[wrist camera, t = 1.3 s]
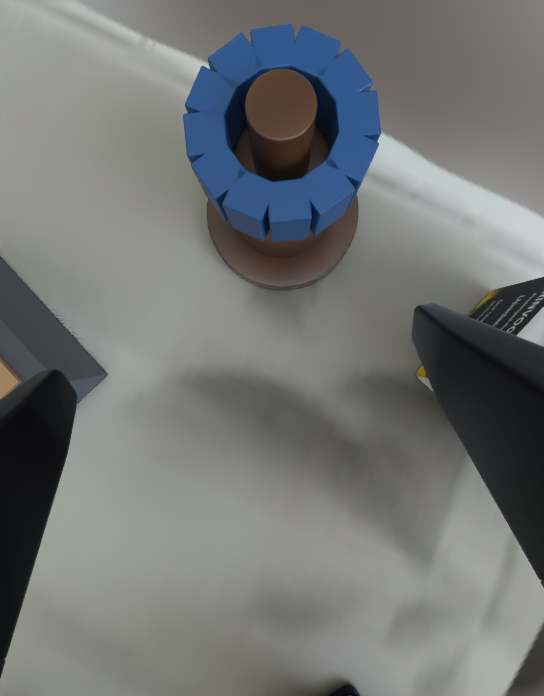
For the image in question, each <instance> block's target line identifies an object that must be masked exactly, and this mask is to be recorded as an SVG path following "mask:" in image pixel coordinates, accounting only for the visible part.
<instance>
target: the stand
mask: <svg viewBox="0 0 544 696" xmlns="http://www.w3.org/2000/svg"><path fill="white" fill-rule="evenodd" d="M245 113H246V119H247V125H248V127H246V128H245V129H244V130H243V132H242V135H241V137H240V139H239V141H238V144H237V146H236V148H235V150H234V155H235V157H236V158H237V159H238V161H239V162H240V164H241V165H242V166H243V168H244V169H245V170H247V171H249V172H251V173H253V174H256V175H258V176H260V177H262V178H265V179H267V180H269V181H272V182H275V181H284V180H293V179H301V178H302V177H304V176H305V175H306V174H308V173H309V172H310V171H312V170H313V169H314V168H316V167H317V166H319V165H320V164H321V163H323V162H324V161H325V160H326V159H327V157H328V155H329V154H328V143H327V139H326V138H325V137H324V135H323V134H322V132H321V131H320V130H319V128H318V127H317V126H316V124H315V120H316V113H317V98H316V94H315V91H314V89H313V87H312V85H311V84H310V82H309V81H308V80H307V79H306V78H305V77H304V76H302V75H301V74H299V73H298V72H295V71H293V70H289V69H275V70H271V71H268V72H266V73H264V74H263V75H261V76H260V77H258V78H257V79H256V80H255V81H254V83H253V84H252V85H251V87H250V89H249V91H248V93H247V96H246V100H245ZM207 221H208V228H209V232H210V235H211V238H212V241H213V243H214V245H215V247H216V249H217V251H218V253H219V254H220V255H221V257H222V258H223V260H224V261H225V262H226V264H227V265H228V266H229V267H230V268H231V269H232V270H233V271H234V272H235V273H236V274H237V275H239V276H240V277H241V278H243V279H245V280H246V281H248V282H250V283H252V284H254V285H257V286H260V287H263V288H267V289H274V290H289V289H296V288H300V287H304V286H307V285H309V284H312V283H314V282H316V281H317V280H319V279H321V278H322V277H324V276H325V275H327V274H328V273H329V272H330V271H331V270H332V269H333V268H334V267H335V266H336V265H337V264H338V263H339V261H340V260H341V259H342V257H343V256H344V254H345V253H346V251H347V250H348V248H349V246H350V244H351V242H352V240H353V237H354V234H355V231H356V228H357V222H358V198H357V194H356V196H355V198H354V200H353V202H352V204H351V206H350V207H349V208H347V209H346V211H345V213H344V215H343V216H342V217H340V218H339V219H338V220H336V221H335V222H334V223H332V224H331V225H329V226H328V227H327V228H325V229H324V230H322V231H321V232H320V233H318V234H317V235H316V236H314V235H313V233H312V232H311V231H310V229H309V232H308V237H307V238H306V239H299V240H290V241H280V242H272V241H271V235H270V230H269V232H268V235H267V237H266V239H265V241H262V240H260V239H257V238H255V237H253V236H251V235H248V234H246V233H244V232H242V231H239V230H237V229H235V228H233V227H232V226H231V223H230V221H227V222H225V221H224V219H223V218H222V216H221V215H220V214H219V212H218V211H217V210H216V208H215V207H214V205H213V204H212V203H211V201H210V200H209V198H208V203H207Z"/></svg>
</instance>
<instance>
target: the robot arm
mask: <svg viewBox="0 0 544 696" xmlns="http://www.w3.org/2000/svg"><path fill="white" fill-rule="evenodd" d="M412 340H413V343H414V346H415V348H416V351H417V353H418V355H419V358H420V360H421V363H422V365H423V368H424V370H425V373H426V375H427V377H428V380H429V382H430V385H431V387H432V389H433V391H434V393H435V395H436V397H437V399H438V401H439V403H440V404H441V406H442V408H443V410H444V412H445V413H446V415H447V417H448V419H449V420H450V422H451V424H452V426H453V427H454V429H455V431H456V433H457V435H458V436H459V438H460V440H461V442H462V443H463V445H464V447H465V449H466V450H467V452H468V454H469V456H470V458H471V459H472V461H473V463H474V465H475V466H476V468H477V470H478V472H479V473H480V475H481V477H482V479H483V481H484V482H485V484H486V486H487V488H488V489H489V491H490V493H491V495H492V496H493V498H494V500H495V502H496V504H497V505H498V507H499V509H500V511H501V512H502V514H503V516H504V518H505V520H506V521H507V523H508V525H509V527H510V528H511V530H512V532H513V534H514V535H515V537H516V539H517V541H518V543H519V544H520V546H521V548H522V550H523V551H524V553H525V555H526V557H527V558H528V560H529V562H530V564H531V566H532V567H533V569H534V571H535V573H536V574H537V576H538V578H539V579H540V580H542V581H541V584H542V586H543V587H544V346H541V345H538V344H536V343H533V342H531V341H528V340H526V339H523V338H521V337H518V336H516V335H513V334H511V333H508V332H505V331H503V330H500V329H498V328H495V327H493V326H490V325H488V324H485V323H483V322H480V321H478V320H475V319H472V318H470V317H467V316H465V315H462V314H460V313H457V312H455V311H452V310H450V309H447V308H444V307H442V306H439V305H437V304H434V303H430V304H425V305H419V306H417V307H416V308H415V310H414V317H413V327H412ZM77 399H78V398H77V393H76V391H75V389H74V388H73V386H72V385H71V383H70V382H69V380H68V379H67V378H66V376H65V375H64V373H63V372H62V371H61V370H59V369H51V370H46V371H41V372H39V373H38V374H36V375H35V376H33V377H32V378H31V379H29V380H28V381H26V382H25V383H23V384H22V385H20V386H19V387H18V388H16V389H15V390H13V391H12V392H10V393H9V394H8V395H6V396H5V397H3V398H2V399H0V677H1V674H2V671H3V667H4V664H5V658H6V656H7V653H8V650H9V647H10V643H11V640H12V637H13V633H14V630H15V627H16V623H17V620H18V617H19V613H20V610H21V607H22V604H23V600H24V597H25V594H26V590H27V587H28V584H29V580H30V577H31V574H32V570H33V567H34V564H35V560H36V557H37V554H38V550H39V547H40V544H41V540H42V537H43V534H44V530H45V527H46V524H47V521H48V517H49V514H50V511H51V507H52V504H53V501H54V497H55V494H56V491H57V487H58V484H59V481H60V477H61V474H62V471H63V467H64V464H65V461H66V457H67V453H68V449H69V444H70V439H71V433H72V428H73V422H74V417H75V411H76V406H77ZM349 695H352V696H360V695H359V693H358V691H357V690H356V688H355V687H354V686H351V685H346V686H344V687H342V688H341V689H339V690H337V691H336V692H334V693H332V694H330V695H329V696H349Z"/></svg>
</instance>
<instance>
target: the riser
mask: <svg viewBox="0 0 544 696" xmlns="http://www.w3.org/2000/svg"><path fill="white" fill-rule="evenodd" d="M51 369H59V370H61V371H62V372H63V373H64V375H65V376H66V378H67V379H68V380H69V382H70V383H71V385H72V386H73V388H74V389H75V391H76V393H77V398H78V399H77V403H78V402H79V401H80V400H81V399H82V398H83V397H85V396H86V395H87V394H88V393H89V392H90V391H91V390H92V389H93V388H94V387H95V386H96V385H97V384H98V383H99V382H100V381H102V380H103V379H104V378H105V377H106V376H107V373H106V372H105V371H104V370H103V369H102V368H101V366H100V365H99V364H98V363H97V362H96V361H95V360H94V359H93V358H92V357H91V356H90V354H89V353H88V352H87V351H86V350H85V349H84V348H83V347H82V346H81V345H80V343H79V342H78V341H77V340H76V339H75V338H74V337H73V336H72V335H71V334H70V333H69V331H68V330H67V329H66V328H65V327H64V326H63V325H62V324H61V323H60V322H59V321H58V319H57V318H56V317H55V316H54V315H53V314H52V313H51V312H50V311H49V310H48V308H47V307H46V306H45V305H44V304H43V303H42V302H41V301H40V300H39V299H38V298H37V296H36V295H35V294H34V293H33V292H32V291H31V290H30V289H29V288H28V287H27V286H26V284H25V283H24V282H23V281H22V280H21V279H20V278H19V277H18V276H17V275H16V273H15V272H14V271H13V270H12V269H11V268H10V267H9V266H8V265H7V264H6V263H5V261H4V260H3V259H2V258H1V257H0V399H2V398H3V397H5V396H6V395H8V394H9V393H10V392H12V391H13V390H15V389H16V388H18V387H19V386H20V385H22V384H23V383H25V382H26V381H28V380H29V379H31V378H32V377H33V376H35V375H36V374H38V373H39V372H41V371H46V370H51Z"/></svg>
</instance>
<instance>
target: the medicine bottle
mask: <svg viewBox="0 0 544 696" xmlns="http://www.w3.org/2000/svg"><path fill="white" fill-rule="evenodd" d="M468 317H470V318H472V319H475V320H478V321H480V322H483V323H485V324H488V325H490V326H493V327H495V328H498V329H500V330H503V331H505V332H508V333H511V334H513V335H516V336H518V337H521V338H523V339H526V340H528V341H531V342H533V343H536V344H538V345H541V346H544V277H542V278H538V279H534V280H530V281H526V282H523V283H519V284H515V285H511V286H507V287H504V288H500V289H496V290H493V291H491V292H490V293H489V294H488V295H487V296H486V297H485V298H484V299H483V300H482V301H481V303H480V304H479V305H478V306H477V307H476V308H475V309H474V310H473V311H472V312H471V313H470V314H469V315H468ZM416 375H417V377H418V379H420V380H421V381H422V382H423V383H424V384H425V385H426V386H427V387H428V388H429V389H431V390H432V391H433V389H432V387H431V385H430V382H429V380H428V377H427V375H426V373H425V370H424V368H423V365H422V366H421V367H420V368H419V369H418V371H417V373H416ZM433 392H434V391H433Z"/></svg>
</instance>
